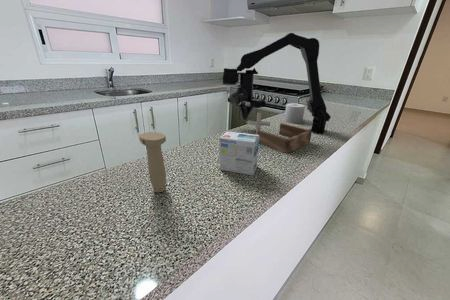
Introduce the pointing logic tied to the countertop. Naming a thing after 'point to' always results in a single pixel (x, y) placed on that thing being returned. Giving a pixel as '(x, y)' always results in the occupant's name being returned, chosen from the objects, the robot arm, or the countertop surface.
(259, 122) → the pipe connector
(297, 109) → the toilet tissue
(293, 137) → the walnut bay
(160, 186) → the handle
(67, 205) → the countertop surface
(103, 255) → the countertop surface
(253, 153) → the light bulb box
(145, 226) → the countertop surface
